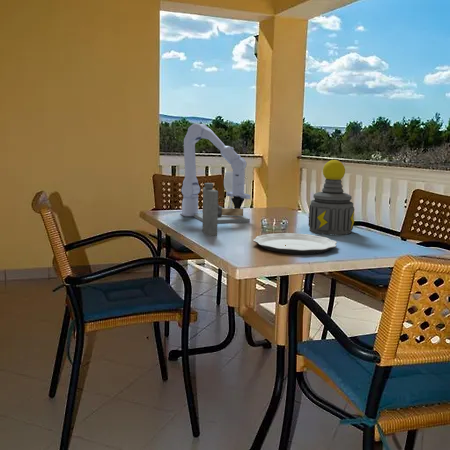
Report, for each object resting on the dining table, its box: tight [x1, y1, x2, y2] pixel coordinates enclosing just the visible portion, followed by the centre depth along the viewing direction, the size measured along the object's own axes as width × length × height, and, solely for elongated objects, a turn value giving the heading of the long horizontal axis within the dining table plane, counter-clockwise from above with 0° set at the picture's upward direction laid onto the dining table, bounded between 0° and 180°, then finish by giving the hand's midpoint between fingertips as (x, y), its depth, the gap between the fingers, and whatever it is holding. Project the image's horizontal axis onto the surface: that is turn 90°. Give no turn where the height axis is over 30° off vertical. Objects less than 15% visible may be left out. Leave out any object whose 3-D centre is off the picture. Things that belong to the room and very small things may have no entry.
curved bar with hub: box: [202, 204, 244, 216], centre depth 242 cm, size 19×5×5 cm, turn 89°
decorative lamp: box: [307, 159, 355, 236], centre depth 216 cm, size 19×19×30 cm
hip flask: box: [201, 182, 219, 237], centre depth 207 cm, size 16×4×20 cm, turn 14°
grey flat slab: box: [193, 212, 251, 224], centre depth 243 cm, size 20×22×2 cm
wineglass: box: [223, 170, 233, 208], centre depth 260 cm, size 9×9×21 cm
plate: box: [252, 232, 338, 255], centre depth 186 cm, size 29×29×2 cm
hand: (237, 212), depth 244 cm, fingers closed, pressing on curved bar with hub
